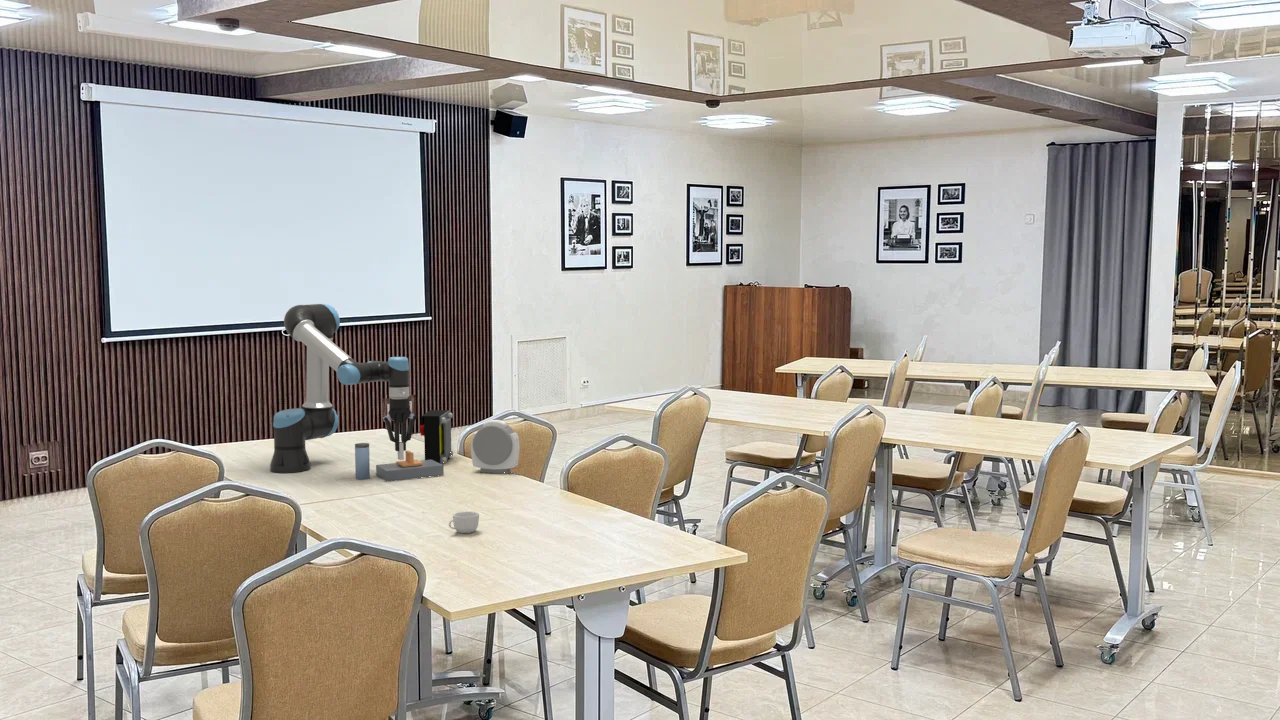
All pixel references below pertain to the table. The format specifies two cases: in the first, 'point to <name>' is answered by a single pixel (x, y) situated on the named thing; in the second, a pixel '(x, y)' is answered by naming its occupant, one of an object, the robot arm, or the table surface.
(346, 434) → the table surface
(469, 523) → the teacup
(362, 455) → the blue canister
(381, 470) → the socket block
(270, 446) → the table surface
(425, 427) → the electrical component
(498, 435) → the alarm clock
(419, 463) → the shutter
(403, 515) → the table surface
